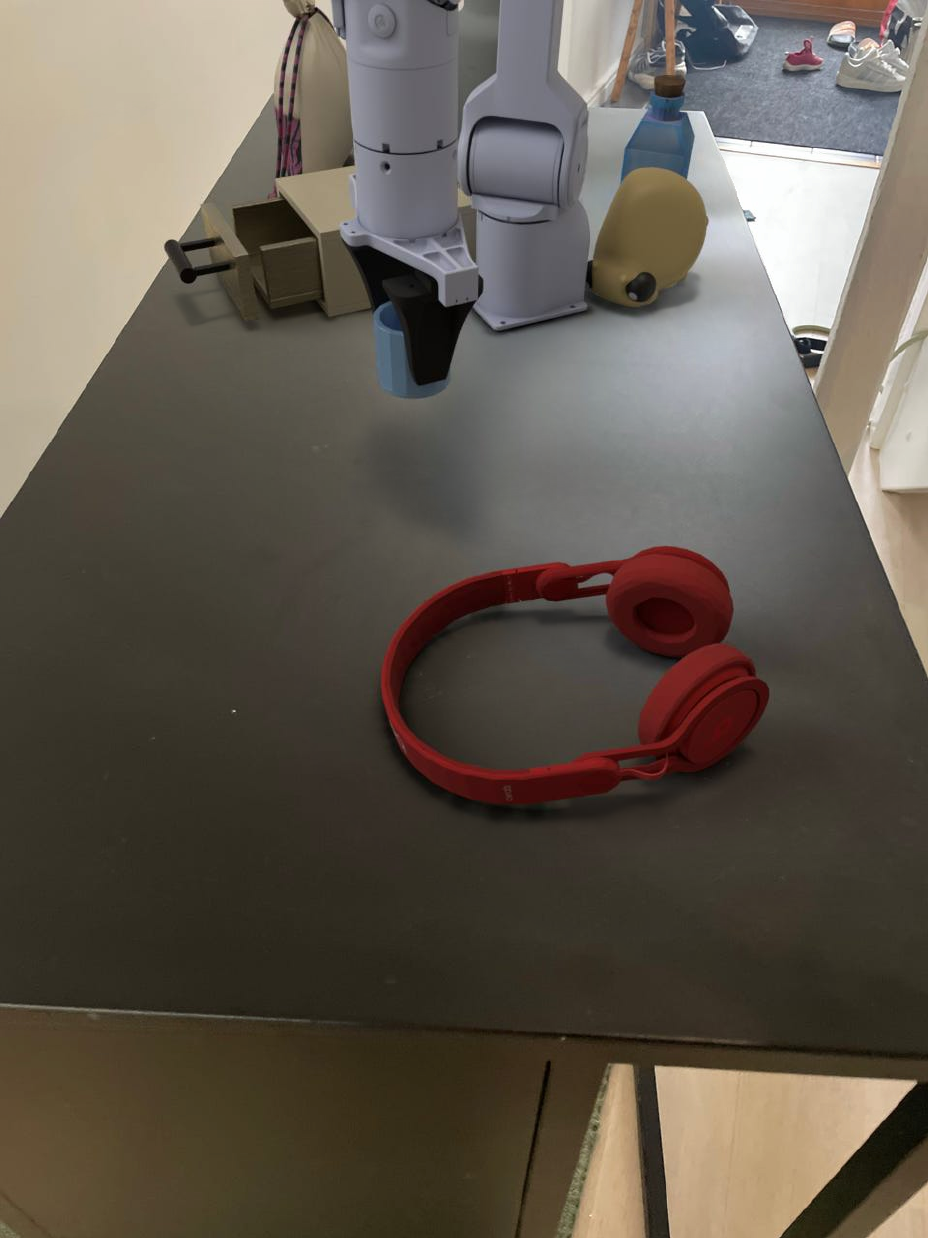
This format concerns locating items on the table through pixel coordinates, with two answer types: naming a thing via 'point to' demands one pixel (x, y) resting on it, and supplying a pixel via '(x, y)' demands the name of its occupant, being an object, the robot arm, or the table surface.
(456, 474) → the table surface
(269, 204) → the drawer
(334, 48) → the pouch
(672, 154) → the blue corked bottle
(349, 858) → the table surface
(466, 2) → the water bottle
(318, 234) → the wooden drawer box
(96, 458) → the table surface
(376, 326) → the cup
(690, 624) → the headphones
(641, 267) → the tan rounded piece
